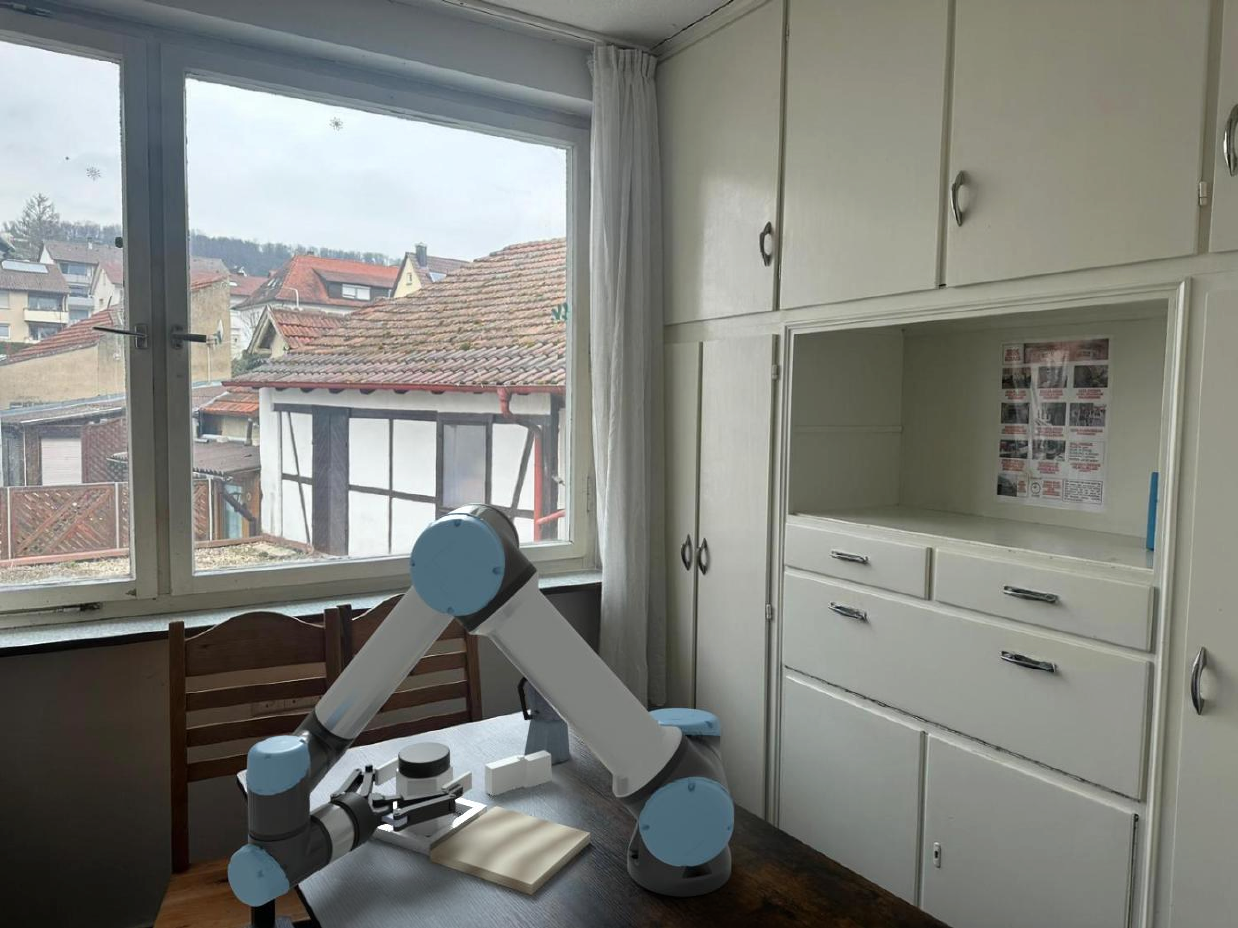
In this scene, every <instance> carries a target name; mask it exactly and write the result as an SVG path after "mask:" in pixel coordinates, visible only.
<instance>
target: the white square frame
mask: <svg viewBox="0 0 1238 928" xmlns="http://www.w3.org/2000/svg"><path fill="white" fill-rule="evenodd" d="M394 812H396V802H394V810H393V813H394ZM456 812H458V813H457V814H459V813H462V814H460V816H459V817H456V819H454V821H453V822H451V823H450V824H448V825H447V826H445V827H444V828H442V829H441V830H439V831H438V832H436V833H435V834H433V835H432V836H422V835H419V834H416V833H413V832H410V831H407V830H401V831H399V832H394V831H393V825H391V824H389V823H388V824H386V825H382V826H379V827H377V829H376V830H375V832H374V833H373V835H372V837H371V838H373V839H376V840H380V841H383V842H386V843H389V844H392V845H394V846H395V845H396V846H398V847H402V848H404V849H407V850H410V851H414V852H416V853H420V854H422V855H425V856H428V857H430V851H431V850H433V849H434V848H436V847H437V846H439V845H440V844H442V843H443V842H444V841H446V840H447V839H449V838H450V837H452V836H453V835H455V834H456V833H457V832H459V831H460V830H462V829H463V828H465V827H466V826H468V825H469V824H470V823H472V822H473V821H475V820H476V819H478V818H479V817H481V816H482V815H483V814H485V813H486V812H488V805H487V804H484V803H480V802H477V801H472V800H470V799H469V800H468V799H466V798H462V797H459V798H458V799H456ZM456 812H455V813H456Z"/></svg>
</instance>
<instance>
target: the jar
mask: <svg viewBox="0 0 1238 928" xmlns="http://www.w3.org/2000/svg"><path fill="white" fill-rule="evenodd" d="M397 757H398V769H396V777H395V795H397V794H401V795H402V796H403V797H405V796H411V795H417V794H423V793H429V792H436V791H441V787H442V786H444V785H446V784H447V783H449V782H450V781H452V780H454V767H453V765H452V764H451V750H450V748H449V747H448V746H447V745H445V744H443V743H439V742H428V741H427V742H420V743H418V742H417V743H414V744H411V745H408V746H406V747H404V748H402V749H401V750H400V751H399V752H398V754H397ZM396 811H397V802H396ZM454 820H455V819H454V813H452V814H449V815H445V816H442V817H439V818H435V819H432V820H429V821H425V822H422V823H419V824H415V825H412V826H409V827H407V828H405V829H403V830H407V831H410V832H413V833H416V834H419V835H422V836H425V837H430V836H432V835H433V834H435V833H436V832H438V831H439V830H441V829H442V828H444V827H445V826H447V825H448V824H450V823H451V822H453V821H454Z"/></svg>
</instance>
